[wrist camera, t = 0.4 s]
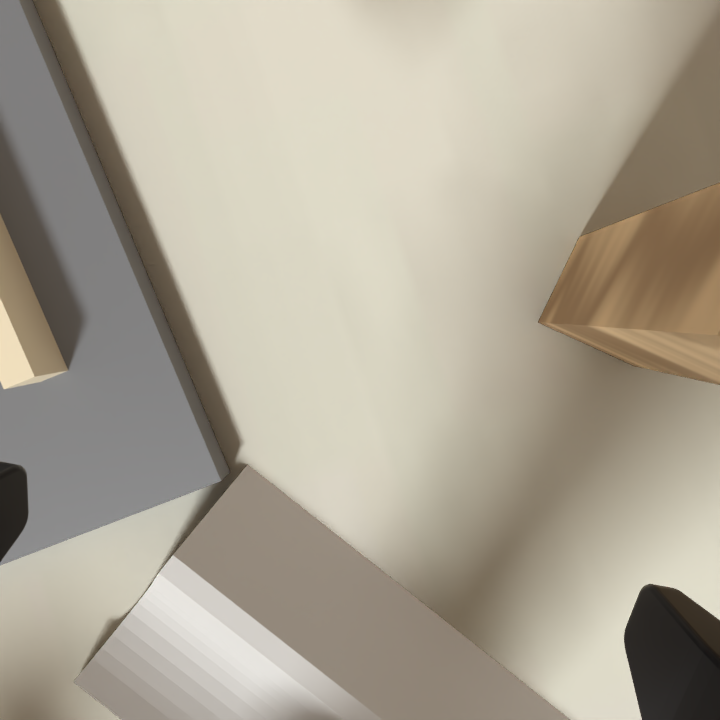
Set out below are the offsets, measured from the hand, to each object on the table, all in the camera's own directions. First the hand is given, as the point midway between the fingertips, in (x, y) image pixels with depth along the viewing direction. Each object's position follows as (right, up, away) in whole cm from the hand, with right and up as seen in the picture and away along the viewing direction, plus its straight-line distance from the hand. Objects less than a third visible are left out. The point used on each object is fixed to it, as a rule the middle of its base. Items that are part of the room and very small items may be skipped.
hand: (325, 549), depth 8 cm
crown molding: (+5, -16, +16) cm, 23 cm away
